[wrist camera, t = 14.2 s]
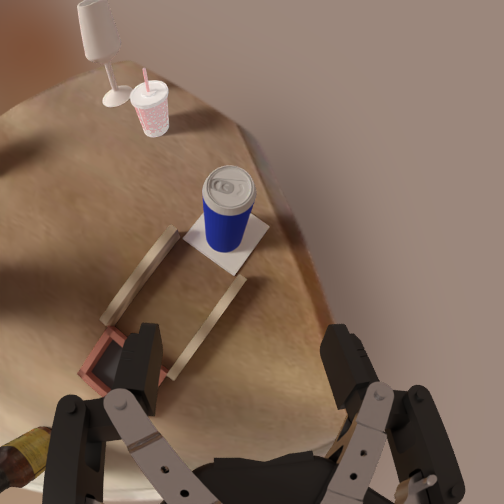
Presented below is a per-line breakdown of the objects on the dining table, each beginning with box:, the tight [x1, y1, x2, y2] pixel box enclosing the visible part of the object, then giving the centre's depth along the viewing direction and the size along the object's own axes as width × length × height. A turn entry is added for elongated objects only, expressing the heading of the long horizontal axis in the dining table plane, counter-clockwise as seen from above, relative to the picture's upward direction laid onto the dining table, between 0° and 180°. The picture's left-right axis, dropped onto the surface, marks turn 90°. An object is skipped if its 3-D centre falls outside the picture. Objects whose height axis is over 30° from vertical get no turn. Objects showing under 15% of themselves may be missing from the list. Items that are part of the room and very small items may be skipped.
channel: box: [99, 224, 247, 381], centre depth 35 cm, size 16×12×4 cm
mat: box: [183, 213, 270, 276], centre depth 40 cm, size 9×9×1 cm
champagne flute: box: [77, 0, 132, 107], centre depth 33 cm, size 7×7×24 cm
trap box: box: [77, 326, 169, 397], centre depth 32 cm, size 9×10×2 cm
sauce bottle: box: [0, 427, 52, 493], centre depth 18 cm, size 6×6×20 cm
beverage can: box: [202, 166, 256, 253], centre depth 33 cm, size 5×5×15 cm
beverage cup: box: [130, 68, 169, 137], centre depth 37 cm, size 6×6×14 cm
